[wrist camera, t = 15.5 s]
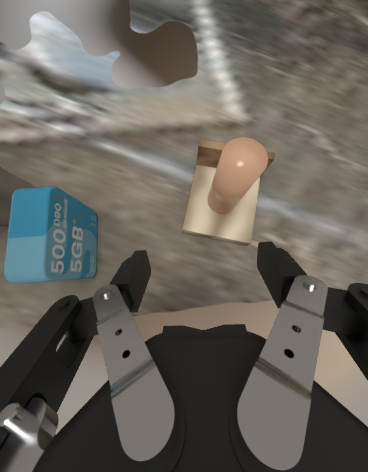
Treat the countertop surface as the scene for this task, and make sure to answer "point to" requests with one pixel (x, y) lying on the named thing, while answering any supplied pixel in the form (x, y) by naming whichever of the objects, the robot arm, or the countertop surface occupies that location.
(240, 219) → the wooden l-shaped stand
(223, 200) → the peach dome-topped cylinder
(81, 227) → the data package
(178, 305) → the countertop surface
